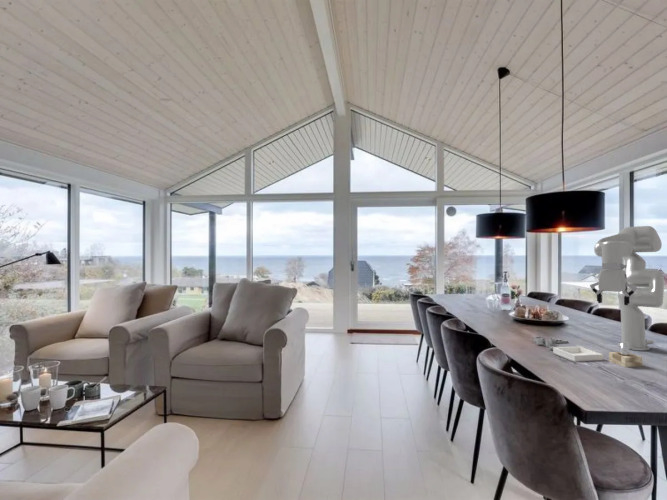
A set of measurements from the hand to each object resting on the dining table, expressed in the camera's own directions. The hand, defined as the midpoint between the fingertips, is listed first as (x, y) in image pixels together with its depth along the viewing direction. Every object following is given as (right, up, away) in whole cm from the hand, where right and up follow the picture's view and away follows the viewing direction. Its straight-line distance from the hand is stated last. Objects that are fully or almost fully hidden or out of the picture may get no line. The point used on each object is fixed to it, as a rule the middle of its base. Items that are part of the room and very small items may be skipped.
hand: (612, 303), depth 160 cm
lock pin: (0, -26, -7) cm, 26 cm away
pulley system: (-10, -28, +30) cm, 43 cm away
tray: (-13, -27, +5) cm, 30 cm away
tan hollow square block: (0, -27, -7) cm, 27 cm away
